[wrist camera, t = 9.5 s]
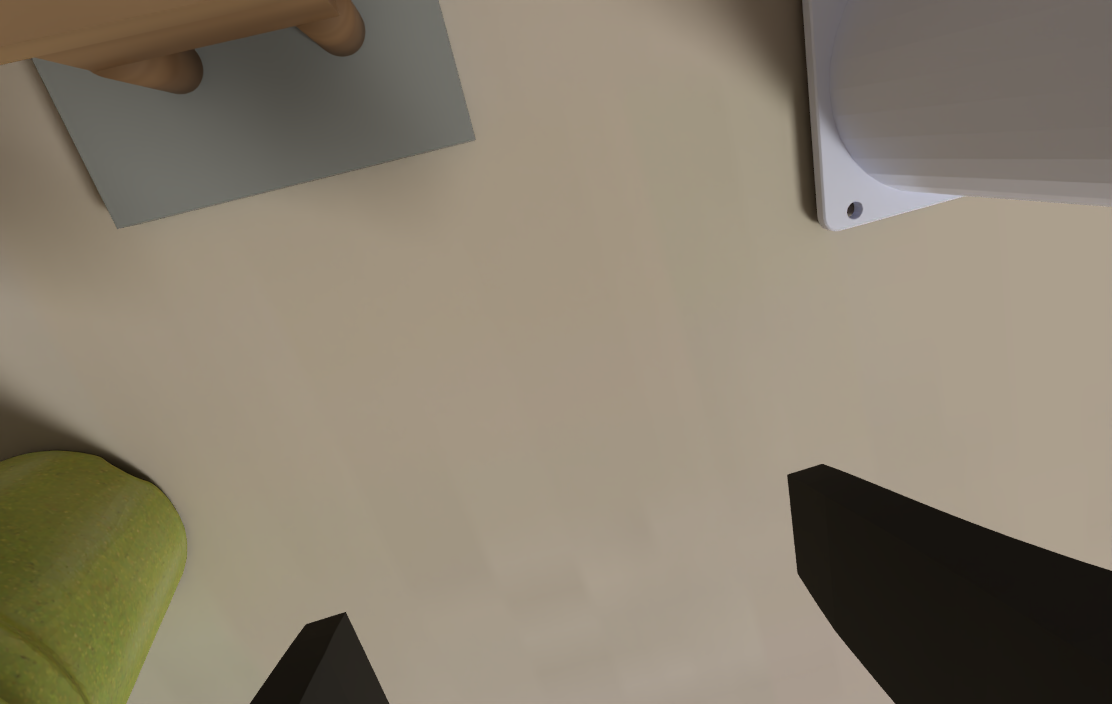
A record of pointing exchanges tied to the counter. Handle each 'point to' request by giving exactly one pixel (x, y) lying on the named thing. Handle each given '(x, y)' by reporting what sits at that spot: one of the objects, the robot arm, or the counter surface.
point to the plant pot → (81, 577)
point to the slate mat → (266, 114)
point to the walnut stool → (162, 33)
